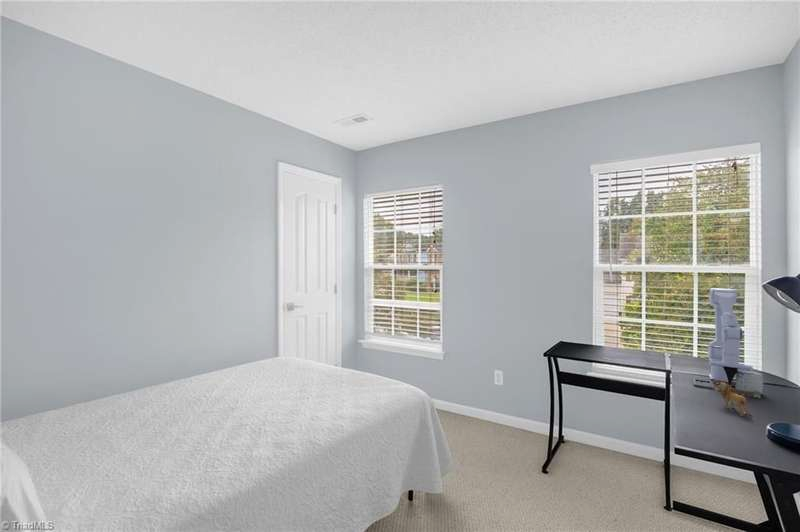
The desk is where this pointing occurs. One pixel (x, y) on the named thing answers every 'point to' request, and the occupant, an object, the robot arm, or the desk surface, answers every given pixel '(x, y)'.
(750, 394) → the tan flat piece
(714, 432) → the desk surface
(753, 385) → the medicine box
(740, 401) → the lion figurine
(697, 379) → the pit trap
